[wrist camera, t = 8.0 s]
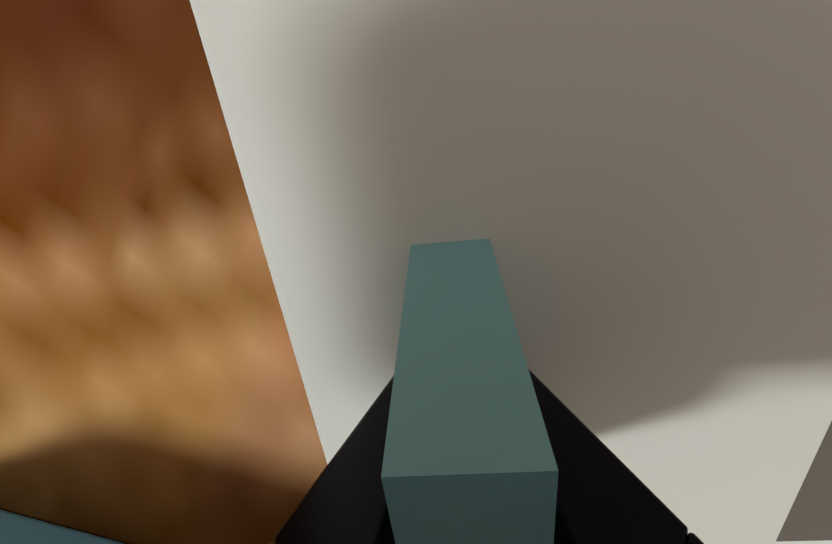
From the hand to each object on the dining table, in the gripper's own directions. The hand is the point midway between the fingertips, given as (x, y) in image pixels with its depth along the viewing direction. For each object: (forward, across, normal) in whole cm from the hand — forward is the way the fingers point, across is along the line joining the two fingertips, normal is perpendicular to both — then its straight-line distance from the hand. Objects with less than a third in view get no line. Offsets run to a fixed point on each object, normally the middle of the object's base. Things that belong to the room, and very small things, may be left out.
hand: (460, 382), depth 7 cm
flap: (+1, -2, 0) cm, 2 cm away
